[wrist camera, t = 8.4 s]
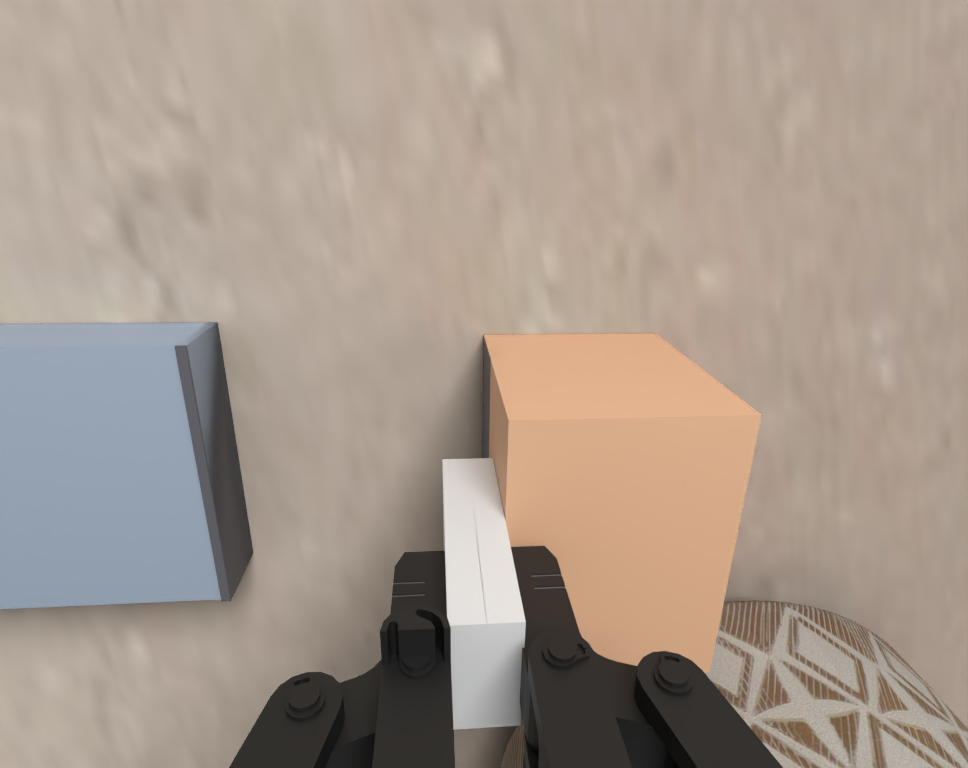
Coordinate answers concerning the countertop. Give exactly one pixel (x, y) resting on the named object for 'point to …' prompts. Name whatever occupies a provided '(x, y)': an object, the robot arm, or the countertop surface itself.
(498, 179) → the countertop surface
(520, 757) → the planter
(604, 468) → the block
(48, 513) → the blue-grey slab
